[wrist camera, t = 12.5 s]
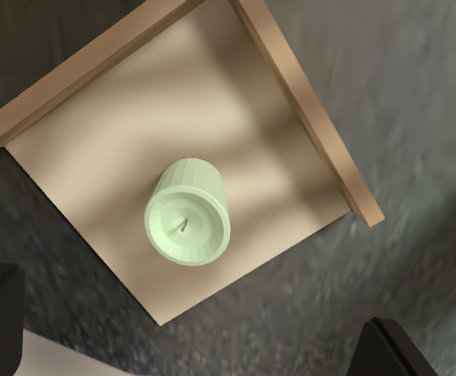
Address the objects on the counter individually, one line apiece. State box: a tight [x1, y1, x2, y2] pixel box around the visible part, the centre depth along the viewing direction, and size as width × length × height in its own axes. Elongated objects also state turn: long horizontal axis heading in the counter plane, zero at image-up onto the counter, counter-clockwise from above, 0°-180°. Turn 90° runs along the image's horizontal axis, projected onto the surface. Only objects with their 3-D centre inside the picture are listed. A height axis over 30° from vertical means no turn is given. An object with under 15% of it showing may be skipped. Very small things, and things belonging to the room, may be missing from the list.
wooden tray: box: [0, 0, 385, 326], centre depth 25 cm, size 20×20×4 cm
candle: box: [144, 158, 230, 266], centre depth 23 cm, size 5×5×8 cm
